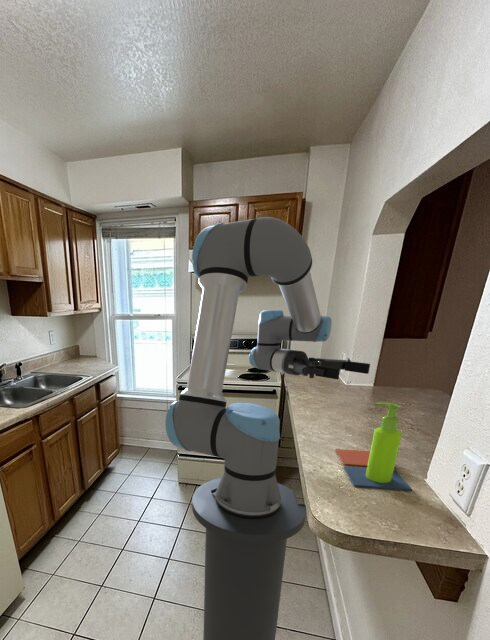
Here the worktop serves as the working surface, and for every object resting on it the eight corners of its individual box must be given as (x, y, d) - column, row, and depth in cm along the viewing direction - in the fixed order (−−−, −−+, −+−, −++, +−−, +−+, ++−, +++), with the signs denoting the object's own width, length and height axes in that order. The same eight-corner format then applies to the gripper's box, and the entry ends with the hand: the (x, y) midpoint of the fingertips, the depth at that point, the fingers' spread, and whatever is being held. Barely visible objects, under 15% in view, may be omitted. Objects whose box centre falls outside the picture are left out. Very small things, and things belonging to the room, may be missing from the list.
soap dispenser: (366, 469, 97) (380, 399, 90) (394, 477, 92) (411, 404, 85) (357, 476, 94) (371, 403, 87) (386, 485, 89) (403, 409, 82)
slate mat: (354, 486, 90) (354, 484, 89) (343, 468, 100) (344, 466, 99) (411, 491, 87) (412, 489, 87) (395, 471, 97) (395, 470, 97)
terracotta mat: (344, 465, 101) (344, 463, 101) (335, 450, 111) (335, 449, 111) (394, 468, 99) (394, 467, 98) (380, 453, 109) (381, 451, 108)
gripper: (314, 369, 119) (377, 379, 102) (261, 378, 107) (322, 391, 90) (317, 347, 116) (382, 353, 99) (262, 353, 104) (326, 361, 87)
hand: (354, 371), depth 94 cm, fingers open, 13 cm apart
